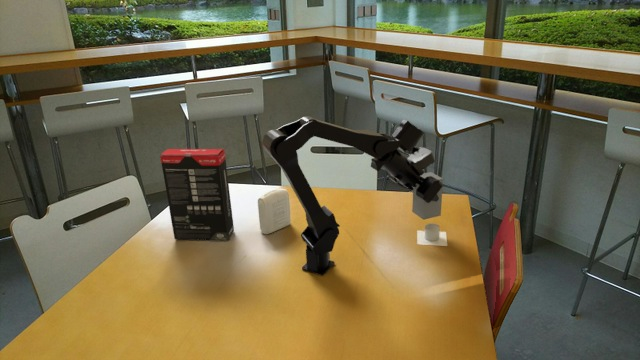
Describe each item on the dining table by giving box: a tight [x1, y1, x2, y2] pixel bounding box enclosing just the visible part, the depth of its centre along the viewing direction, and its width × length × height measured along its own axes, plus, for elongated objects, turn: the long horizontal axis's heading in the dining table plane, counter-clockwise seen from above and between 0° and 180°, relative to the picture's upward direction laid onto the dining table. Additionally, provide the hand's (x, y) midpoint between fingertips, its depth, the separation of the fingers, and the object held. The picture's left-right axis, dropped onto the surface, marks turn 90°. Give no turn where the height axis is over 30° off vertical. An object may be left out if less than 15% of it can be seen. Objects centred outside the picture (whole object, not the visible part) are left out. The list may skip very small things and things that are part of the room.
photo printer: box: [257, 188, 292, 235], centre depth 144 cm, size 10×4×12 cm, turn 134°
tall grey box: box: [411, 171, 444, 220], centre depth 131 cm, size 6×6×11 cm
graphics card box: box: [159, 148, 235, 242], centre depth 138 cm, size 17×7×27 cm, turn 84°
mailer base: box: [416, 222, 448, 247], centre depth 133 cm, size 8×8×5 cm
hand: (431, 196), depth 132 cm, fingers closed on tall grey box, 6 cm apart
